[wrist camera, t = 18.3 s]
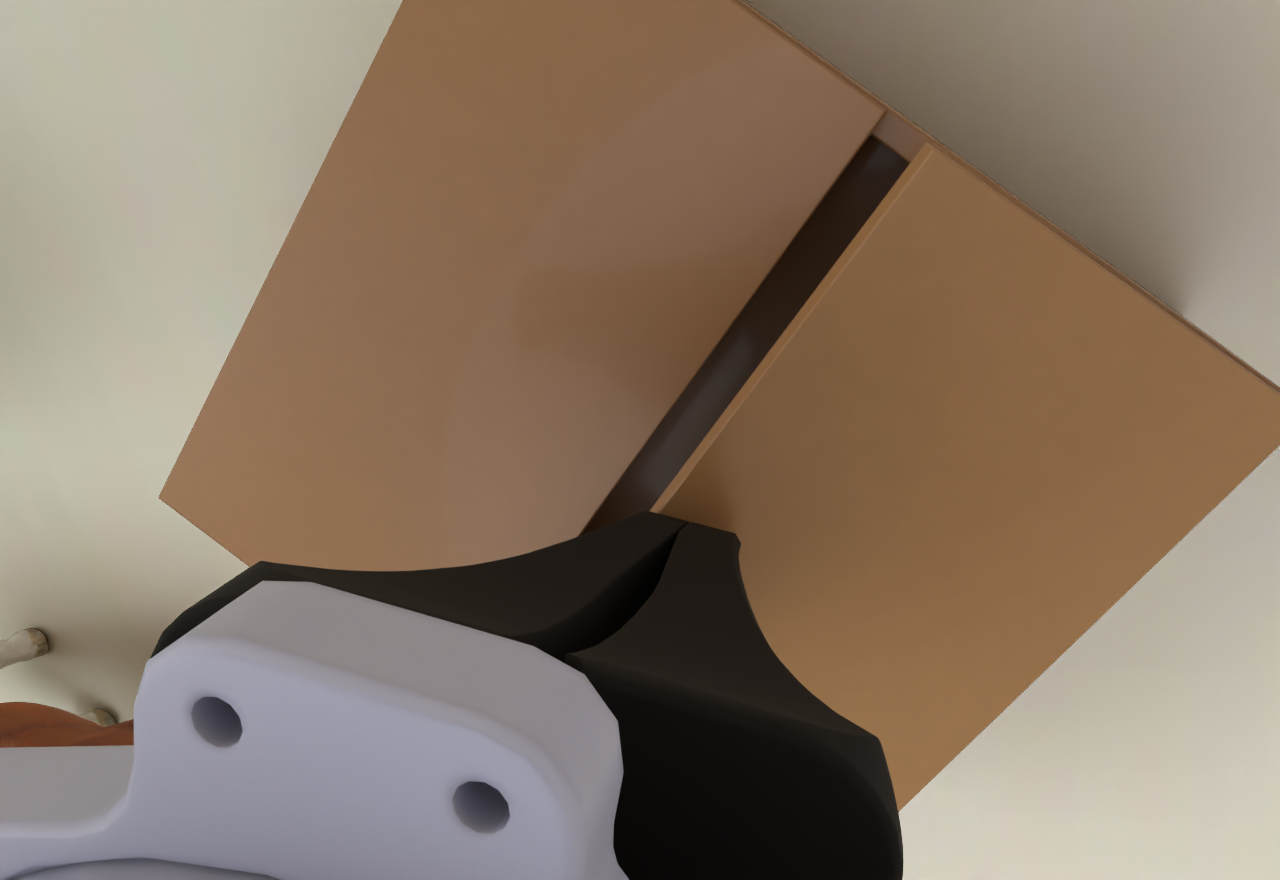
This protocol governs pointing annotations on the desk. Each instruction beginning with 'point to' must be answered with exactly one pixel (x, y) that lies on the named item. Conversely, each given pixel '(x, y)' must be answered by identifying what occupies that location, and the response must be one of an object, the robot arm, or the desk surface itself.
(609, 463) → the carton
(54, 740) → the bull figurine
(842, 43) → the desk surface
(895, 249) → the flap
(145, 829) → the robot arm
